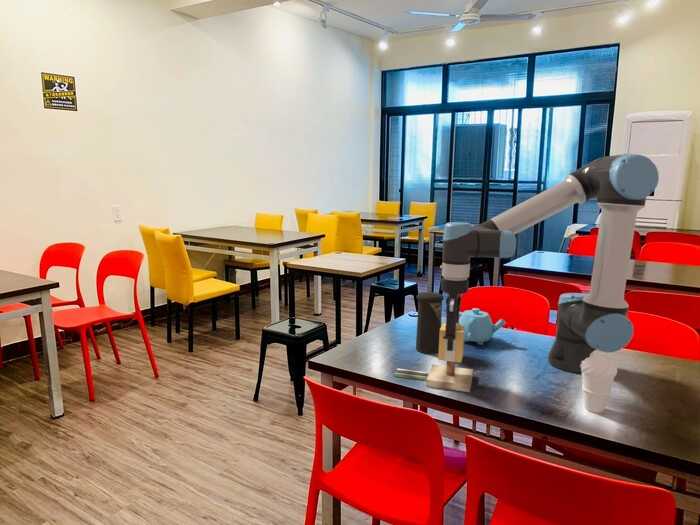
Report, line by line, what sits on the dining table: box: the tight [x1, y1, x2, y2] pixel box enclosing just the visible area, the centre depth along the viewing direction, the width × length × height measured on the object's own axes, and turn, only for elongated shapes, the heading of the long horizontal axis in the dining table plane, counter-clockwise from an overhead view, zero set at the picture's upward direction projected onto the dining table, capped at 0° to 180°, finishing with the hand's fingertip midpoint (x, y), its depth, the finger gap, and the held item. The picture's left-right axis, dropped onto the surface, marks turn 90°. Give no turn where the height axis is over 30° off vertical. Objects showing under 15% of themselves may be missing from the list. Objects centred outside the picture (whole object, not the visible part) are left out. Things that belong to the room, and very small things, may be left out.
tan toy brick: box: [437, 321, 465, 363], centre depth 138 cm, size 6×6×10 cm
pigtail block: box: [393, 361, 474, 393], centre depth 141 cm, size 22×12×8 cm, turn 72°
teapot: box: [459, 307, 507, 346], centre depth 175 cm, size 20×17×12 cm
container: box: [415, 291, 445, 355], centre depth 164 cm, size 9×9×20 cm
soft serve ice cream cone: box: [580, 349, 618, 414], centre depth 122 cm, size 8×8×16 cm
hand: (450, 356), depth 139 cm, fingers closed on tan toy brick, 6 cm apart
